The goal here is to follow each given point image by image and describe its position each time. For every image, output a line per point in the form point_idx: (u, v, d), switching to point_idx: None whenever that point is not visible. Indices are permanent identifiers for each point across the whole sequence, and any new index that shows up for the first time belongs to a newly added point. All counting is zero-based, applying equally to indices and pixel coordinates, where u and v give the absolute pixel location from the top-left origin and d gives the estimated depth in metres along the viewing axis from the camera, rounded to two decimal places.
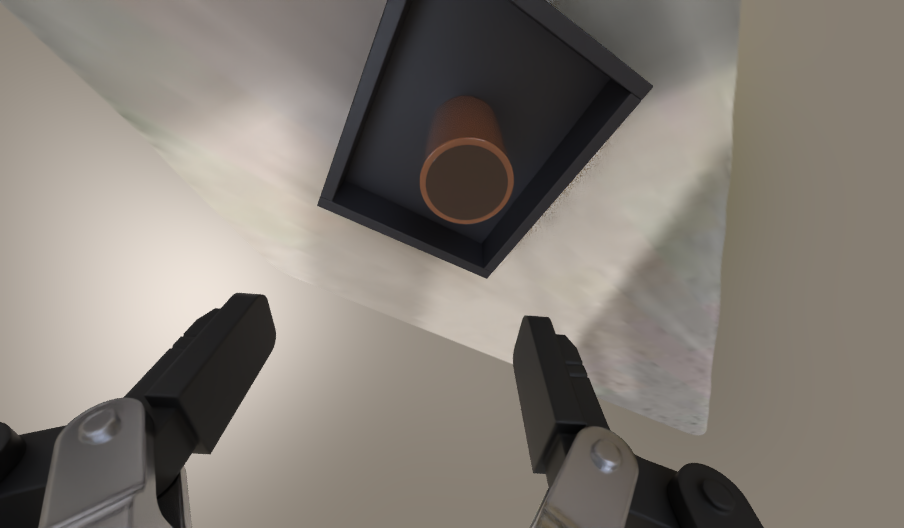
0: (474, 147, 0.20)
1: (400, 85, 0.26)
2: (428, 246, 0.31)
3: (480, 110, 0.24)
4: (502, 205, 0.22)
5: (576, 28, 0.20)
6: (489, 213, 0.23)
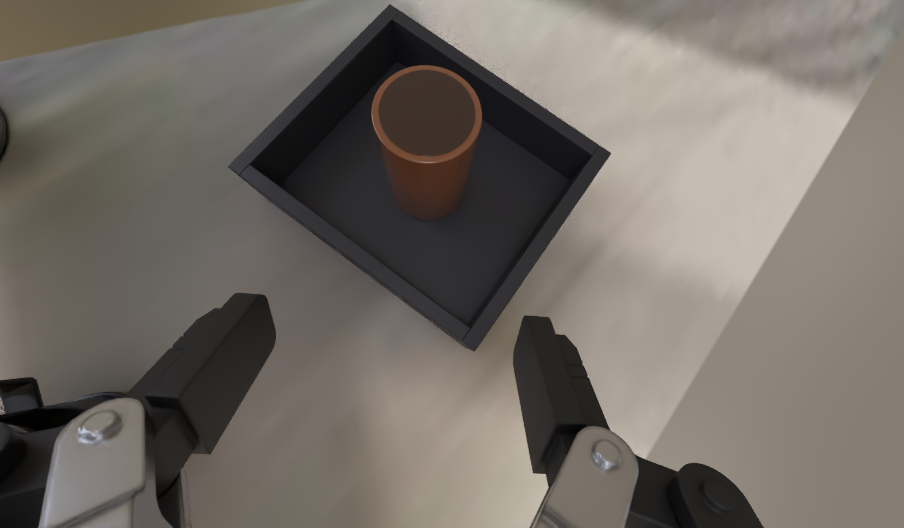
0: (382, 98, 0.18)
1: (371, 237, 0.26)
2: (550, 220, 0.23)
3: None
4: (459, 77, 0.19)
5: (333, 62, 0.24)
6: (469, 92, 0.18)
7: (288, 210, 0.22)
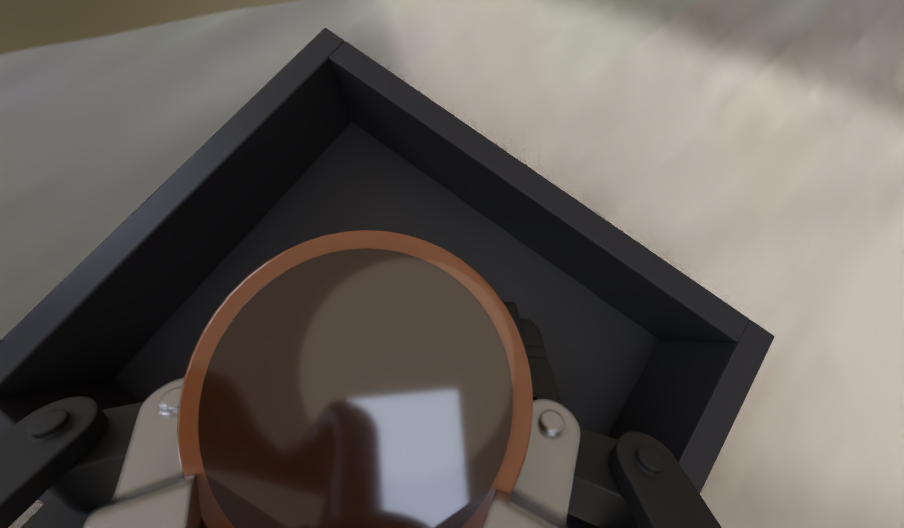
0: (218, 356, 0.06)
1: None
2: None
3: None
4: (463, 268, 0.06)
5: (201, 150, 0.12)
6: (493, 318, 0.06)
7: None
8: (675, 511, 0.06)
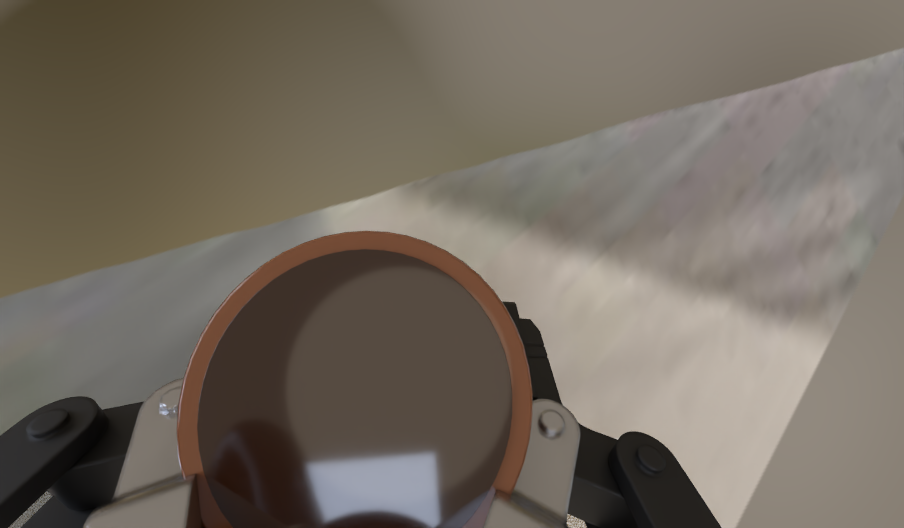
0: (218, 357, 0.06)
1: None
2: None
3: None
4: (463, 269, 0.06)
5: None
6: (492, 319, 0.06)
7: None
8: (675, 511, 0.06)
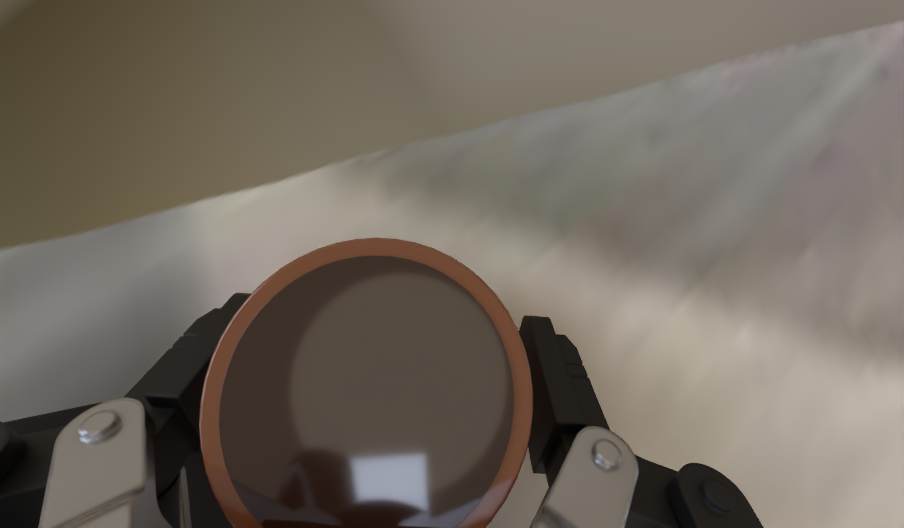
0: (237, 357, 0.06)
1: None
2: None
3: None
4: (468, 274, 0.07)
5: None
6: (495, 321, 0.06)
7: None
8: None
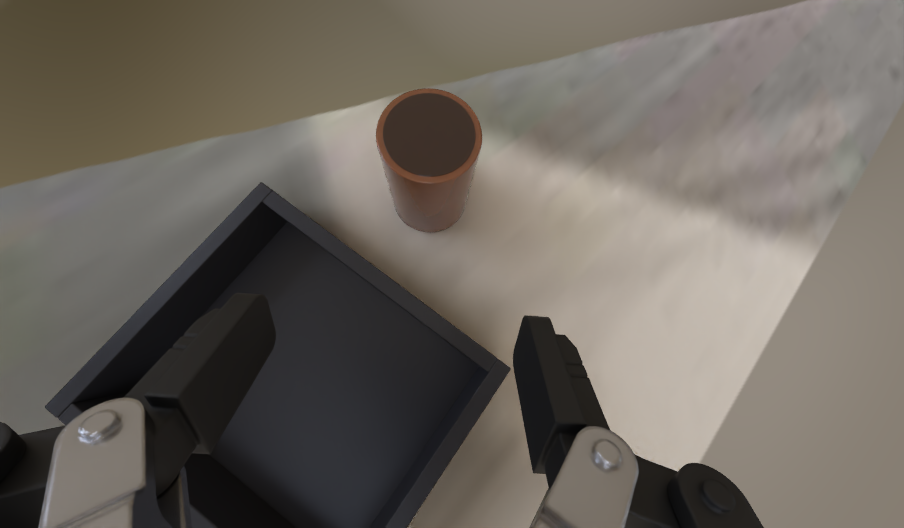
0: (387, 120, 0.19)
1: (241, 449, 0.22)
2: (431, 463, 0.19)
3: None
4: (460, 100, 0.19)
5: (185, 261, 0.21)
6: (470, 114, 0.19)
7: None
8: None
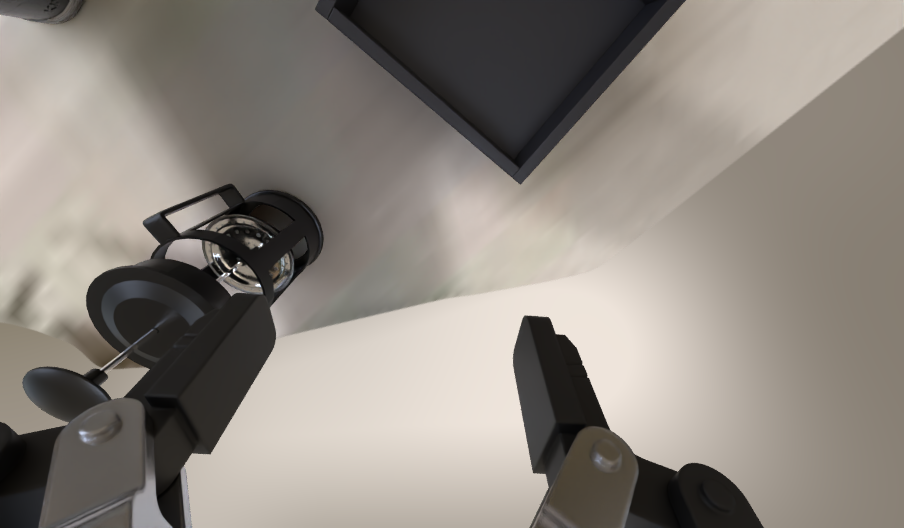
0: None
1: (441, 73, 0.29)
2: (606, 74, 0.25)
3: None
4: None
5: None
6: None
7: (376, 60, 0.25)
8: None
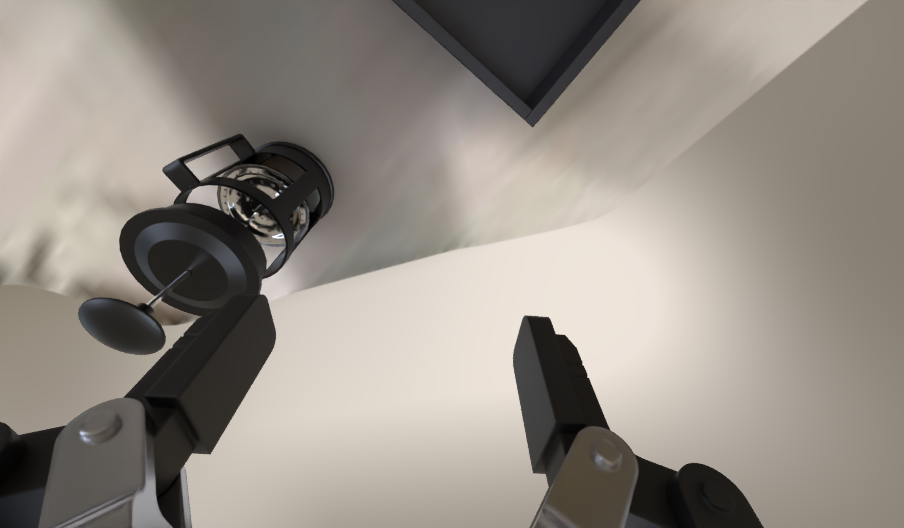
0: None
1: (451, 10, 0.28)
2: (622, 5, 0.25)
3: None
4: None
5: None
6: None
7: None
8: None
